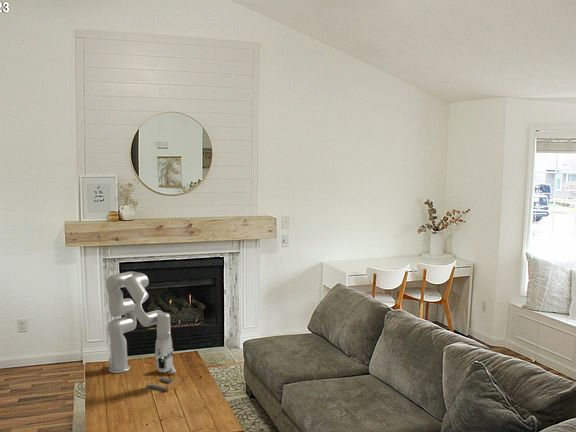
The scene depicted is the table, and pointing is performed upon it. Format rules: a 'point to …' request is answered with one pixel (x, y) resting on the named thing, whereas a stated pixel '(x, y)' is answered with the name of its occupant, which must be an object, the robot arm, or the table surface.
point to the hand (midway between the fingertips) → (164, 366)
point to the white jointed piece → (168, 370)
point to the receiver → (168, 387)
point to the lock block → (166, 362)
